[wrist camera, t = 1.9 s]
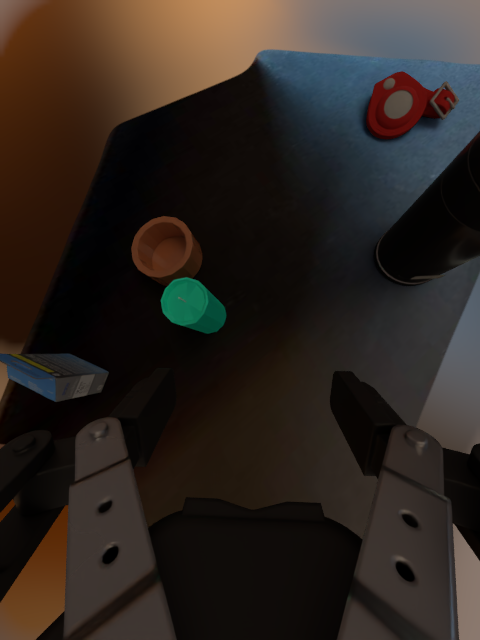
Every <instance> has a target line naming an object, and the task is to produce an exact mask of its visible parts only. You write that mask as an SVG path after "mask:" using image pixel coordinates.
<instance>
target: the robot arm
mask: <svg viewBox="0 0 480 640" xmlns="http://www.w3.org/2000/svg"><path fill="white" fill-rule="evenodd" d="M478 256H480V131H479V132H478V134H477V135H476V136H475V137H474V138H473V139H472V140H471V141H470V142H469V143H468V144H467V146H466V147H465V148H464V149H463V150H462V151H461V152H460V153H459V154H458V155H457V156H456V158H455V159H454V160H453V161H452V162H451V163H450V164H449V165H448V166H447V168H446V169H445V170H444V171H443V172H442V173H441V174H440V175H439V176H438V177H437V178H436V180H435V181H434V182H433V183H432V184H431V185H430V186H429V187H428V188H427V189H426V190H425V191H424V193H423V194H422V195H421V196H420V197H419V198H418V199H417V200H416V201H415V202H414V203H413V205H412V206H411V207H410V208H409V209H408V210H407V211H406V212H405V213H404V214H403V215H402V216H401V218H400V219H399V220H398V221H397V222H396V223H395V224H394V225H393V226H392V227H391V228H390V229H389V230H388V231H387V232H386V233H385V234H384V235H383V236H382V237H381V238H380V239H379V241H378V242H377V244H376V247H375V250H374V260H375V264H376V266H377V268H378V270H379V271H380V273H381V274H382V275H383V276H384V277H385V278H387V279H388V280H390V281H392V282H394V283H396V284H399V285H404V286H415V285H420V284H423V283H425V282H428V281H430V280H432V279H433V278H440V277H443V276H445V275H440V274H443V273H445V272H447V271H449V270H451V269H453V268H455V267H457V266H459V265H461V264H463V263H465V262H468V261H470V260H472V259H474V258H476V257H478ZM175 404H176V387H175V378H174V371H173V369H172V368H157V369H156V370H155V371H154V372H153V373H152V375H151V376H150V377H149V378H144V379H143V380H141V381H140V382H138V383H137V384H136V385H135V386H134V387H133V388H132V389H131V390H130V392H129V393H128V394H127V395H126V396H125V398H124V399H123V400H122V401H121V402H120V403H119V404H118V406H117V407H116V408H115V409H114V410H113V411H112V413H111V414H110V415H109V416H108V417H107V418H101V419H98V420H96V421H93V422H91V423H89V424H88V425H86V426H85V427H84V428H82V429H81V430H80V431H79V433H78V434H77V436H74V437H69V438H65V439H60V440H55V441H53V438H52V435H51V433H50V432H49V431H47V430H37V431H32V432H29V433H26V434H23V435H21V436H19V437H17V438H15V439H13V440H12V441H10V442H9V443H7V444H6V445H4V446H3V447H2V448H1V449H0V512H1V511H2V510H3V509H4V508H5V507H6V506H7V505H8V503H9V502H10V501H11V500H12V499H13V500H14V502H15V506H14V507H13V508H12V509H11V511H10V512H9V513H8V514H7V515H6V516H5V517H4V519H3V520H2V521H1V522H0V602H1V601H2V599H3V598H4V596H5V595H6V593H7V592H8V590H9V589H10V587H11V586H12V584H13V583H14V581H15V579H16V578H17V577H18V575H19V574H20V572H21V571H22V569H23V568H24V566H25V565H26V563H27V562H28V560H29V559H30V557H31V556H32V554H33V553H34V551H35V550H36V548H37V547H38V545H39V544H40V542H41V541H42V539H43V538H44V537H45V535H46V534H47V532H48V531H49V529H50V528H51V526H52V525H53V523H54V522H55V520H56V519H57V517H58V515H59V514H60V513H61V511H62V510H63V508H64V506H65V505H69V507H68V534H67V561H66V589H65V611H64V612H63V613H62V614H61V615H60V616H59V617H58V618H57V619H56V620H55V621H54V622H53V623H52V624H51V625H50V626H49V627H48V628H47V629H46V630H45V631H44V632H43V633H42V634H41V635H40V636H39V637H38V638H37V639H36V640H459V634H458V633H459V632H458V616H457V596H456V578H455V559H454V543H453V524H455V526H456V527H457V528H458V530H459V531H460V533H461V534H462V536H463V537H464V539H465V540H466V542H467V543H468V545H469V546H470V547H471V549H472V550H473V552H474V553H475V555H476V556H477V558H478V559H479V560H480V444H476V445H474V446H473V448H472V450H471V453H470V454H466V453H462V452H458V451H454V450H449V449H446V448H442V447H441V445H440V444H439V442H438V441H437V440H436V439H434V438H433V437H432V436H431V435H429V434H428V433H426V432H424V431H422V430H420V429H418V428H415V427H412V426H408V425H406V424H405V422H404V421H403V420H402V419H401V418H400V417H399V416H398V415H397V413H396V412H395V411H394V410H393V409H392V408H391V407H390V406H389V404H387V402H386V401H385V400H384V399H383V398H381V395H380V394H379V393H378V392H377V391H376V390H375V389H374V388H373V387H371V386H370V385H368V384H366V383H365V382H360V381H359V379H358V378H357V377H356V376H355V375H354V373H353V372H351V371H335V372H334V374H333V380H332V388H331V395H330V406H331V410H332V413H333V415H334V417H335V419H336V421H337V423H338V425H339V427H340V429H341V430H342V432H343V434H344V436H345V438H346V440H347V442H348V444H349V446H350V448H351V450H352V452H353V454H354V456H355V458H356V460H357V462H358V464H359V466H360V468H361V470H362V472H363V474H364V476H376V477H377V478H378V482H377V486H376V490H375V494H374V498H373V502H372V506H371V510H370V514H369V517H368V521H367V525H366V529H365V533H364V537H363V540H362V539H361V538H360V537H359V536H358V535H356V534H355V533H354V532H352V531H351V530H349V529H348V528H347V527H345V526H343V525H342V524H340V523H338V522H336V521H334V520H332V519H330V518H327V517H324V513H323V510H322V506H321V503H306V502H284V503H280V504H276V505H272V506H268V507H264V508H260V509H256V510H250V509H247V508H244V507H241V506H238V505H235V504H232V503H229V502H226V501H223V500H220V499H212V498H188V497H186V499H185V503H184V507H183V510H182V511H178V512H175V513H173V514H170V515H168V516H166V517H164V518H162V519H161V520H159V521H158V522H156V523H155V524H153V525H152V526H151V527H149V528H148V527H147V523H146V519H145V515H144V511H143V507H142V503H141V499H140V496H139V492H138V488H137V484H136V480H135V476H134V472H133V469H134V467H135V466H141V467H146V465H147V463H148V461H149V459H150V457H151V455H152V453H153V451H154V449H155V447H156V445H157V443H158V440H159V438H160V436H161V434H162V432H163V430H164V428H165V426H166V424H167V422H168V420H169V418H170V416H171V414H172V412H173V410H174V407H175Z"/></svg>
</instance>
